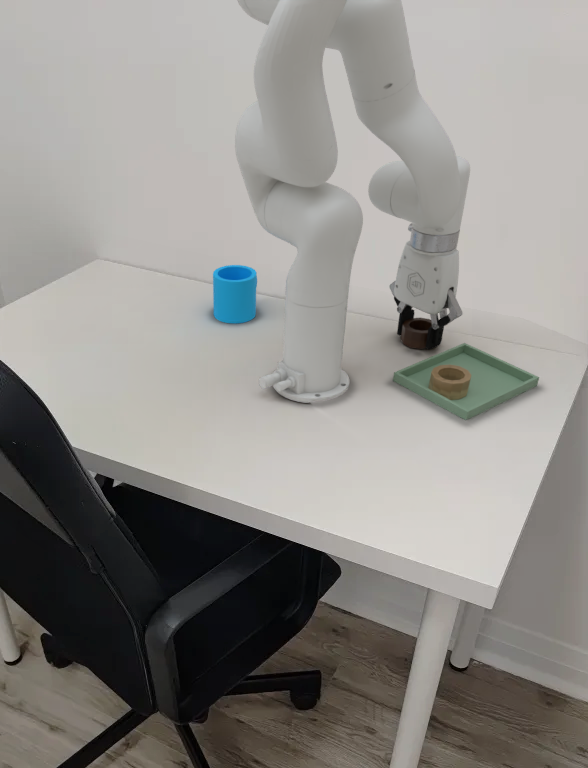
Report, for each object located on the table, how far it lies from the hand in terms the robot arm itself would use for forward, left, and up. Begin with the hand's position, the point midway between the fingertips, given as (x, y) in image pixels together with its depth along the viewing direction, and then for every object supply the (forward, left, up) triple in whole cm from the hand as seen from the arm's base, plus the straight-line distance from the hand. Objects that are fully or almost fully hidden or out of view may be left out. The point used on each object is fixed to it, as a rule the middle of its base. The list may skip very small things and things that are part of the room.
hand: (418, 338), depth 136 cm
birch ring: (-9, -14, -1) cm, 17 cm away
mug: (-16, +31, -1) cm, 35 cm away
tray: (-5, -14, -1) cm, 15 cm away
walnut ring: (0, 0, 0) cm, 0 cm away
